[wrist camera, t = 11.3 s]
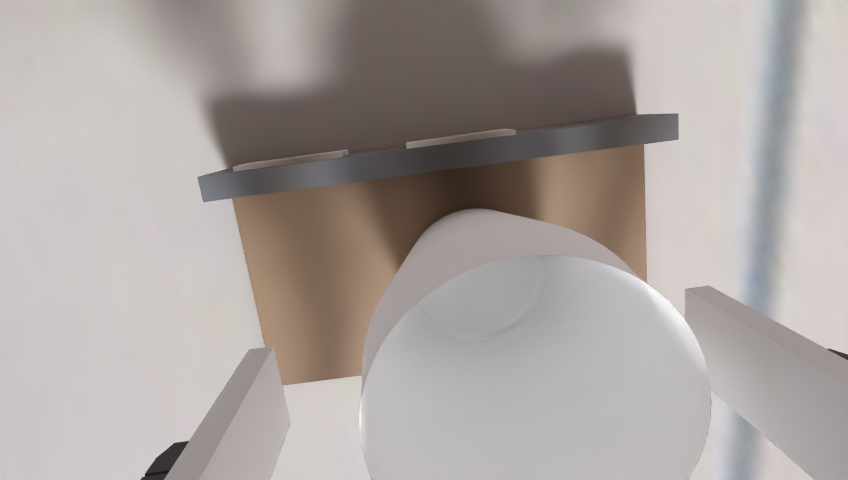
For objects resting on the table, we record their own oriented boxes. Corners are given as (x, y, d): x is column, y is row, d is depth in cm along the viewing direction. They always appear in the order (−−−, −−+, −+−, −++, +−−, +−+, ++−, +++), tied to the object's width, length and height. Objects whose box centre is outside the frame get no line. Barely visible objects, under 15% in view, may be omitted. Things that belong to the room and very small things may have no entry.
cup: (528, 150, 22) (654, 181, 11) (593, 318, 24) (760, 499, 13) (349, 230, 23) (285, 341, 11) (427, 387, 25) (441, 619, 13)
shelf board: (277, 380, 25) (255, 421, 22) (229, 164, 23) (196, 171, 19) (642, 333, 25) (679, 367, 22) (637, 110, 23) (678, 108, 19)
